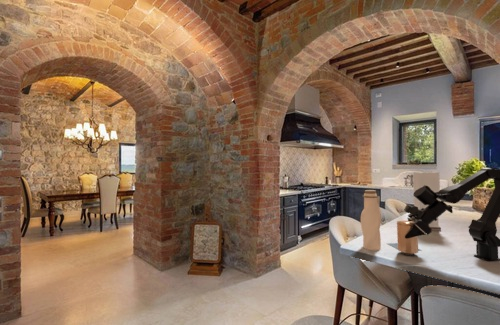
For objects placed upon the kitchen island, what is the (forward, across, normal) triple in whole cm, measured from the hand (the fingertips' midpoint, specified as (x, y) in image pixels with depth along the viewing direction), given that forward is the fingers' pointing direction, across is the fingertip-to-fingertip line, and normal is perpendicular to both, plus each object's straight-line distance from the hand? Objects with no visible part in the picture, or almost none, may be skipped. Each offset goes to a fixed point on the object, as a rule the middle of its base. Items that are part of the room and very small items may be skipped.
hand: (403, 235), depth 116 cm
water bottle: (+15, -5, -3) cm, 16 cm away
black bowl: (+5, 0, +7) cm, 9 cm away
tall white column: (-8, -57, +21) cm, 61 cm away
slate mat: (+5, -10, +7) cm, 14 cm away
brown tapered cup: (+4, 0, +6) cm, 7 cm away
